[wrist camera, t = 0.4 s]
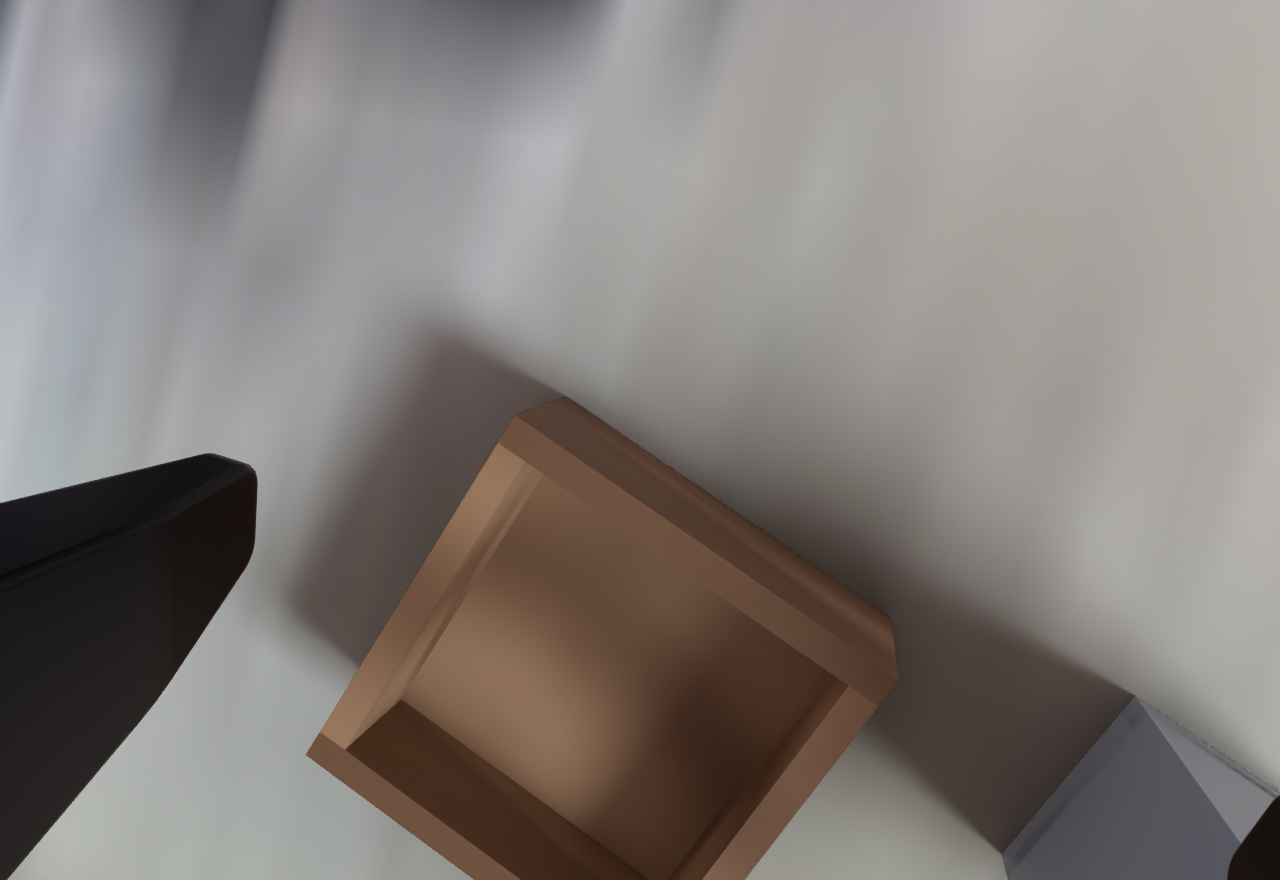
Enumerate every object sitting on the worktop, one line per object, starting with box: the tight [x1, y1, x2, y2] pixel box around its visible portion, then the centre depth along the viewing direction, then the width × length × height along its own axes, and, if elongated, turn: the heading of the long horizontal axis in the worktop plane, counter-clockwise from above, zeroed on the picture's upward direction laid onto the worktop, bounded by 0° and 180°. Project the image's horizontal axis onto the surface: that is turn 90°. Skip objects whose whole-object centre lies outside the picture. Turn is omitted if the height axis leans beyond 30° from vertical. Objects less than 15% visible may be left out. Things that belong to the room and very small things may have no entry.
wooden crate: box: [306, 397, 899, 880], centre depth 24 cm, size 9×9×4 cm
